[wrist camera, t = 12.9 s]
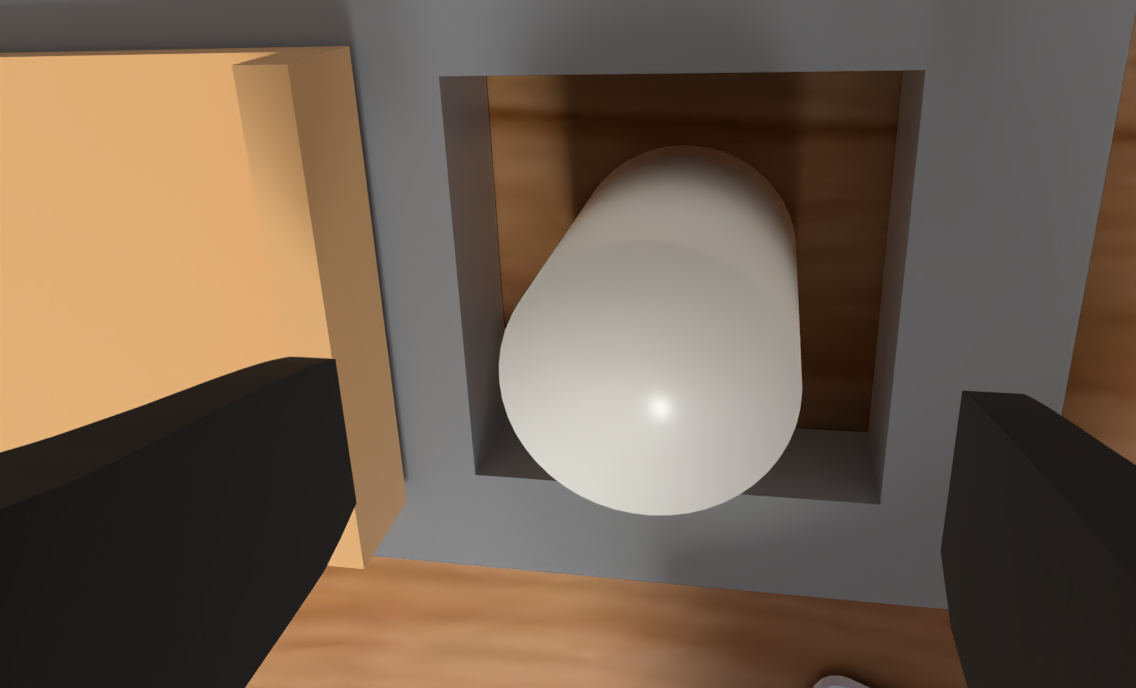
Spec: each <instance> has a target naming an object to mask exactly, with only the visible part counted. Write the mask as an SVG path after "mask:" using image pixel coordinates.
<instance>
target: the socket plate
mask: <svg viewBox="0 0 1136 688" xmlns="http://www.w3.org/2000/svg"><path fill="white" fill-rule="evenodd" d="M1135 14H1136V0H0V53H18V52H68V51H119V50H169V49H220V48H270V47H321V46H349V48H350V56H351V64H352V72H353V80H354V88H355V96H356V104H357V112H358V120H359V128H360V136H361V144H362V151H363V159H364V167H365V175H366V183H367V191H368V199H369V207H370V215H371V223H372V231H373V239H374V247H375V254H376V262H377V270H378V278H379V286H380V294H381V302H382V310H383V318H384V326H385V334H386V342H387V350H388V358H389V365H390V373H391V381H392V389H393V397H394V405H395V413H396V421H397V429H398V437H399V445H400V453H401V461H402V468H403V476H404V484H405V492H406V500H407V503H406V504H405V506H404V507H403V509H402V511H401V512H400V514H399V515H398V517H397V518H396V520H395V522H394V523H393V525H392V526H391V528H390V529H389V531H388V532H387V534H386V536H385V537H384V539H383V540H382V542H381V543H380V545H379V546H378V548H377V550H376V551H375V553H374V554H373V556H377V557H388V558H399V559H410V560H421V561H431V562H442V563H453V564H464V565H474V566H485V567H496V568H507V569H517V570H528V571H539V572H550V573H560V574H571V575H582V576H593V577H604V578H614V579H625V580H636V581H647V582H657V583H668V584H679V585H690V586H700V587H711V588H722V589H733V590H744V591H754V592H765V593H776V594H787V595H797V596H808V597H819V598H830V599H840V600H851V601H862V602H873V603H884V604H894V605H905V606H916V607H927V608H937V609H948V603H947V597H946V589H945V582H944V574H943V567H942V559H941V544H942V536H943V529H944V521H945V514H946V507H947V499H948V492H949V484H950V477H951V470H952V462H953V455H954V448H955V440H956V433H957V425H958V418H959V411H960V403H961V396H962V391H980V392H999V393H1019V394H1025V395H1027V396H1030V397H1032V398H1034V399H1035V400H1037V401H1039V402H1041V403H1042V404H1044V405H1046V406H1047V407H1049V408H1050V409H1052V410H1053V411H1055V412H1056V413H1058V414H1060V415H1062V409H1063V404H1064V399H1065V393H1066V388H1067V382H1068V377H1069V371H1070V366H1071V361H1072V355H1073V350H1074V344H1075V339H1076V334H1077V328H1078V323H1079V317H1080V312H1081V307H1082V301H1083V296H1084V290H1085V285H1086V279H1087V274H1088V269H1089V263H1090V258H1091V252H1092V247H1093V242H1094V236H1095V231H1096V225H1097V220H1098V215H1099V209H1100V204H1101V198H1102V193H1103V188H1104V182H1105V177H1106V171H1107V166H1108V160H1109V155H1110V150H1111V144H1112V139H1113V133H1114V128H1115V123H1116V117H1117V112H1118V106H1119V101H1120V96H1121V90H1122V85H1123V79H1124V74H1125V68H1126V63H1127V58H1128V52H1129V47H1130V41H1131V36H1132V31H1133V25H1134V20H1135ZM898 70H903V73H902V84H901V94H900V105H899V115H898V126H897V136H896V147H895V157H894V168H893V178H892V189H891V199H890V210H889V220H888V231H887V241H886V252H885V262H884V273H883V283H882V294H881V304H880V315H879V325H878V336H877V346H876V357H875V367H874V378H873V388H872V399H871V409H870V420H869V430H868V432H855V431H838V430H821V429H804V428H795V430H794V432H793V434H792V437H791V439H790V441H789V444H788V445H787V447H786V448H785V450H784V452H783V453H782V455H781V456H780V458H779V459H778V461H777V462H776V463H775V464H774V465H773V467H772V468H771V469H770V470H769V471H768V473H766V474H765V475H764V476H763V477H762V478H761V479H760V480H759V481H758V482H756V483H755V484H754V485H753V486H751V487H750V488H748V489H747V490H745V491H744V492H743V493H741V494H740V495H738V496H736V497H734V498H732V499H730V500H728V501H726V502H724V503H722V504H719V505H716V506H713V507H711V508H708V509H705V510H700V511H696V512H692V513H687V514H678V515H642V514H633V513H628V512H624V511H619V510H615V509H612V508H609V507H606V506H603V505H600V504H597V503H595V502H593V501H590V500H588V499H586V498H584V497H582V496H580V495H578V494H576V493H575V492H573V491H571V490H570V489H568V488H567V487H565V486H563V485H562V484H561V483H559V482H558V481H557V480H556V479H554V478H553V477H552V476H550V475H549V474H548V473H547V472H546V471H545V470H544V469H543V468H542V467H541V466H540V465H539V464H538V463H537V462H536V461H535V460H534V459H533V457H532V456H531V455H530V454H529V452H528V451H527V450H526V449H525V447H524V446H523V444H522V443H521V441H520V439H519V438H518V436H517V435H516V433H515V431H514V429H513V427H512V425H511V423H510V420H509V418H508V416H507V413H506V410H505V406H504V403H503V400H502V395H501V389H500V383H499V358H500V349H501V344H502V340H503V336H504V333H505V329H504V316H503V302H502V288H501V274H500V260H499V247H498V233H497V219H496V205H495V191H494V178H493V164H492V150H491V136H490V122H489V109H488V95H487V81H486V76H507V75H585V74H663V73H742V72H820V71H898Z"/></svg>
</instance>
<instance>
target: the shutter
mask: <svg viewBox="0 0 1136 688" xmlns="http://www.w3.org/2000/svg"><path fill="white" fill-rule="evenodd" d="M284 357H310V358H330V359H336V366H337V372H338V379H339V386H340V393H341V400H342V406H343V413H344V420H345V427H346V434H347V440H348V447H349V454H350V461H351V468H352V474H353V481H354V488H355V495H356V502H357V503H356V506H355V508H354V510H353V512H352V514H351V517H350V519H349V521H348V523H347V526H346V528H345V530H344V532H343V534H342V537H341V539H340V541H339V543H338V545H337V547H336V549H335V551H334V553H333V555H332V557H331V559H330V561H329V563H328V565H327V566H338V567H348V568H358V569H364V568H365V567H366V565H367V564H368V562H369V560H370V559H371V557H372V556H373V554H374V553H375V551H376V550H377V548H378V546H379V545H380V543H381V542H382V540H383V539H384V537H385V536H386V534H387V532H388V531H389V529H390V528H391V526H392V525H393V523H394V522H395V520H396V518H397V517H398V515H399V514H400V512H401V511H402V509H403V507H404V506H405V504H406V503H407V500H406V492H405V484H404V476H403V468H402V461H401V453H400V445H399V437H398V429H397V421H396V413H395V405H394V397H393V389H392V381H391V373H390V365H389V358H388V350H387V342H386V334H385V326H384V318H383V310H382V302H381V294H380V286H379V278H378V270H377V262H376V254H375V247H374V239H373V231H372V223H371V215H370V207H369V199H368V191H367V183H366V175H365V167H364V159H363V151H362V144H361V136H360V128H359V120H358V112H357V104H356V96H355V88H354V80H353V72H352V64H351V56H350V48H349V46H321V47H270V48H220V49H169V50H119V51H68V52H18V53H0V452H3V451H7V450H10V449H14V448H17V447H20V446H24V445H27V444H31V443H34V442H37V441H40V440H43V439H47V438H50V437H53V436H56V435H59V434H62V433H65V432H67V431H70V430H73V429H76V428H79V427H82V426H85V425H88V424H91V423H94V422H96V421H99V420H102V419H105V418H108V417H111V416H114V415H117V414H120V413H122V412H125V411H128V410H131V409H134V408H137V407H140V406H142V405H145V404H148V403H150V402H153V401H156V400H158V399H161V398H164V397H166V396H169V395H172V394H174V393H177V392H180V391H182V390H185V389H188V388H190V387H193V386H196V385H198V384H201V383H204V382H207V381H209V380H212V379H215V378H218V377H220V376H223V375H226V374H229V373H232V372H235V371H237V370H240V369H243V368H246V367H250V366H253V365H256V364H259V363H263V362H266V361H270V360H274V359H279V358H284Z"/></svg>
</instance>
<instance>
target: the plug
mask: <svg viewBox="0 0 1136 688" xmlns="http://www.w3.org/2000/svg"><path fill="white" fill-rule="evenodd" d="M499 383H500V389H501V395H502V400H503V403H504V406H505V410H506V413H507V416H508V418H509V420H510V423H511V425H512V427H513V429H514V431H515V433H516V435H517V436H518V438H519V439H520V441H521V443H522V444H523V446H524V447H525V449H526V450H527V451H528V452H529V454H530V455H531V456H532V457H533V459H534V460H535V461H536V462H537V463H538V464H539V465H540V466H541V467H542V468H543V469H544V470H545V471H546V472H547V473H548V474H549V475H550V476H552V477H553V478H554V479H556V480H557V481H558V482H559V483H561V484H562V485H563V486H565V487H567V488H568V489H570V490H571V491H573V492H575V493H576V494H578V495H580V496H582V497H584V498H586V499H588V500H590V501H593V502H595V503H597V504H600V505H603V506H606V507H609V508H612V509H615V510H619V511H624V512H628V513H633V514H642V515H678V514H687V513H692V512H696V511H700V510H705V509H708V508H711V507H713V506H716V505H719V504H722V503H724V502H726V501H728V500H730V499H732V498H734V497H736V496H738V495H740V494H741V493H743V492H744V491H745V490H747V489H748V488H750V487H751V486H753V485H754V484H755V483H756V482H758V481H759V480H760V479H761V478H762V477H763V476H764V475H765V474H766V473H768V471H769V470H770V469H771V468H772V467H773V465H774V464H775V463H776V462H777V461H778V459H779V458H780V456H781V455H782V453H783V452H784V450H785V448H786V447H787V445H788V444H789V441H790V439H791V437H792V434H793V432H794V430H795V427H796V424H797V420H798V416H799V413H800V408H801V399H802V372H801V348H800V324H799V301H798V277H797V254H796V238H795V233H794V227H793V224H792V221H791V218H790V215H789V212H788V210H787V208H786V206H785V204H784V202H783V200H782V199H781V197H780V196H779V194H778V193H777V191H776V190H775V188H774V187H773V186H772V185H771V184H770V183H769V182H768V181H767V179H766V178H765V177H764V176H763V175H761V174H760V173H759V172H758V171H757V170H755V169H754V168H753V167H752V166H750V165H748V164H747V163H745V162H744V161H742V160H741V159H739V158H736V157H734V156H732V155H730V154H728V153H725V152H722V151H719V150H716V149H712V148H707V147H701V146H691V145H678V146H667V147H662V148H658V149H653V150H650V151H648V152H645V153H642V154H639V155H637V156H635V157H633V158H632V159H630V160H628V161H626V162H624V163H623V164H622V165H620V166H619V167H617V168H616V169H615V170H613V171H612V172H611V173H610V174H609V175H608V176H607V177H606V178H605V179H604V180H603V181H602V182H601V183H600V185H599V186H598V187H597V188H596V190H595V191H594V192H593V194H592V195H591V197H590V198H589V200H588V201H587V203H586V204H585V206H584V207H583V209H582V210H581V212H580V213H579V215H578V216H577V217H576V219H575V220H574V222H573V223H572V225H571V226H570V228H569V229H568V231H567V232H566V234H565V235H564V237H563V238H562V240H561V241H560V242H559V244H558V245H557V247H556V248H555V250H554V251H553V253H552V254H551V256H550V257H549V259H548V260H547V262H546V263H545V265H544V266H543V267H542V269H541V270H540V272H539V273H538V275H537V276H536V278H535V279H534V281H533V282H532V284H531V285H530V287H529V288H528V290H527V291H526V293H525V294H524V295H523V297H522V298H521V300H520V302H519V303H518V305H517V307H516V308H515V310H514V312H513V313H512V315H511V318H510V320H509V322H508V325H507V327H506V329H505V333H504V336H503V340H502V344H501V349H500V358H499Z"/></svg>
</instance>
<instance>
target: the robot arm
mask: <svg viewBox="0 0 1136 688" xmlns="http://www.w3.org/2000/svg"><path fill="white" fill-rule="evenodd" d="M356 503H357V502H356V495H355V488H354V481H353V474H352V468H351V461H350V454H349V447H348V440H347V434H346V427H345V420H344V413H343V406H342V400H341V393H340V386H339V379H338V372H337V366H336V359H330V358H310V357H284V358H279V359H274V360H270V361H266V362H263V363H259V364H256V365H253V366H250V367H246V368H243V369H240V370H237V371H235V372H232V373H229V374H226V375H223V376H220V377H218V378H215V379H212V380H209V381H207V382H204V383H201V384H198V385H196V386H193V387H190V388H188V389H185V390H182V391H180V392H177V393H174V394H172V395H169V396H166V397H164V398H161V399H158V400H156V401H153V402H150V403H148V404H145V405H142V406H140V407H137V408H134V409H131V410H128V411H125V412H122V413H120V414H117V415H114V416H111V417H108V418H105V419H102V420H99V421H96V422H94V423H91V424H88V425H85V426H82V427H79V428H76V429H73V430H70V431H67V432H65V433H62V434H59V435H56V436H53V437H50V438H47V439H43V440H40V441H37V442H34V443H31V444H27V445H24V446H20V447H17V448H14V449H10V450H7V451H3V452H0V688H245V687H246V685H247V684H248V682H249V681H250V679H251V678H252V677H253V675H254V674H255V672H256V671H257V669H258V668H259V666H260V665H261V663H262V662H263V661H264V659H265V658H266V656H267V655H268V653H269V652H270V650H271V649H272V647H273V646H274V645H275V643H276V642H277V640H278V639H279V637H280V636H281V634H282V633H283V632H284V630H285V629H286V627H287V626H288V624H289V623H290V621H291V620H292V618H293V617H294V615H295V614H296V612H297V611H298V610H299V608H300V607H301V605H302V604H303V602H304V601H305V599H306V598H307V596H308V595H309V593H310V592H311V590H312V589H313V587H314V586H315V584H316V583H317V581H318V580H319V578H320V576H321V575H322V573H323V572H324V570H325V569H326V567H327V565H328V563H329V561H330V559H331V557H332V555H333V553H334V551H335V549H336V547H337V545H338V543H339V541H340V539H341V537H342V534H343V532H344V530H345V528H346V526H347V523H348V521H349V519H350V517H351V514H352V512H353V510H354V508H355V506H356ZM941 559H942V567H943V574H944V582H945V589H946V597H947V603H948V610H949V616H950V623H951V629H952V633H953V637H954V640H955V644H956V647H957V651H958V654H959V658H960V661H961V665H962V668H963V672H964V675H965V679H966V682H967V685H968V688H1136V465H1135V464H1133V463H1131V462H1130V461H1128V460H1127V459H1125V458H1124V457H1122V456H1121V455H1119V454H1118V453H1116V452H1115V451H1113V450H1112V449H1110V448H1109V447H1107V446H1106V445H1104V444H1103V443H1101V442H1100V441H1098V440H1097V439H1095V438H1094V437H1092V436H1091V435H1089V434H1088V433H1086V432H1085V431H1084V430H1082V429H1081V428H1079V427H1078V426H1076V425H1075V424H1073V423H1072V422H1070V421H1069V420H1067V419H1066V418H1064V417H1063V416H1061V415H1060V414H1058V413H1056V412H1055V411H1053V410H1052V409H1050V408H1049V407H1047V406H1046V405H1044V404H1042V403H1041V402H1039V401H1037V400H1035V399H1034V398H1032V397H1030V396H1027V395H1025V394H1019V393H999V392H980V391H962V396H961V403H960V411H959V418H958V425H957V433H956V440H955V448H954V455H953V462H952V470H951V477H950V484H949V492H948V499H947V507H946V514H945V521H944V529H943V536H942V544H941ZM813 688H869V687H867V686H865V685H863V684H861V683H858V682H856V681H854V680H852V679H850V678H847V677H843V676H840V675H838V676H828V677H825V678H822V679H821V680H819V681H818V682H817V683H816V684H815V685H814V687H813Z"/></svg>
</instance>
